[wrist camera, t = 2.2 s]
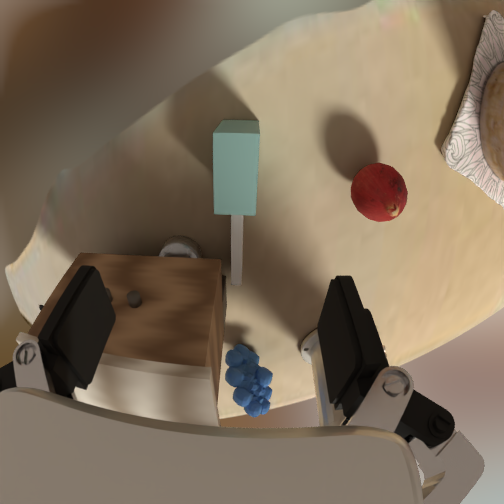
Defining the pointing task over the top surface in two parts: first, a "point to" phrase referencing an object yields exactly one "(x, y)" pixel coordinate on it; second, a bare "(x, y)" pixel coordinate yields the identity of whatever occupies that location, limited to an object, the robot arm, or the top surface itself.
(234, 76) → the top surface
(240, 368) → the grapes
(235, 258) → the sage green block
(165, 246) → the grey flat rounded lump
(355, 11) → the top surface
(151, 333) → the cabinet
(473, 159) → the cookie jar
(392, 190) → the onion
